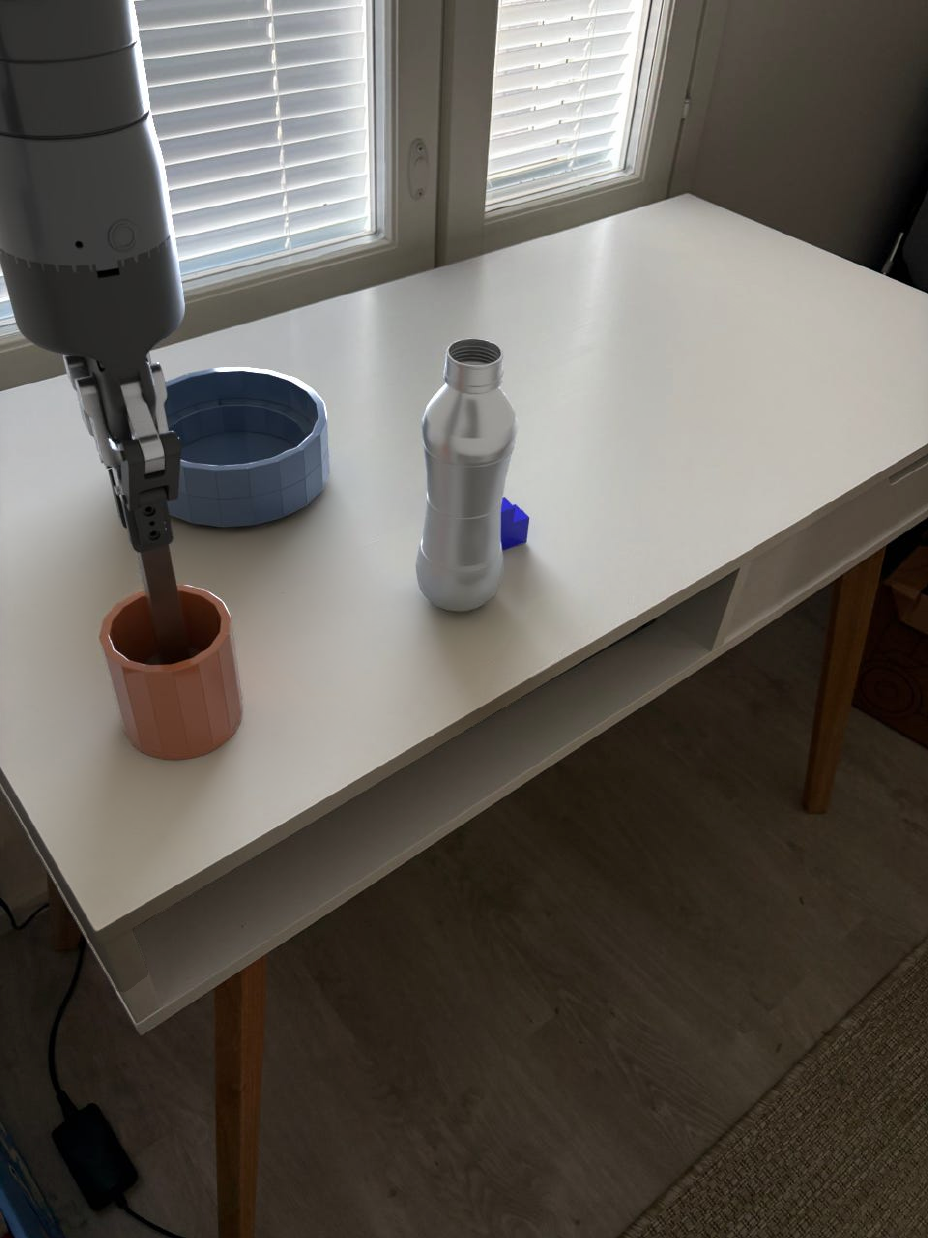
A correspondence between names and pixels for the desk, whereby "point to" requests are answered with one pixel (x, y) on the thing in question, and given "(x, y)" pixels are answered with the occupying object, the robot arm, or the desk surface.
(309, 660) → the desk surface
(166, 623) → the disc-ended square rod
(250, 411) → the bowl
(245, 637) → the desk surface
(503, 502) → the cable holder
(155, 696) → the crock
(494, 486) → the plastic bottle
